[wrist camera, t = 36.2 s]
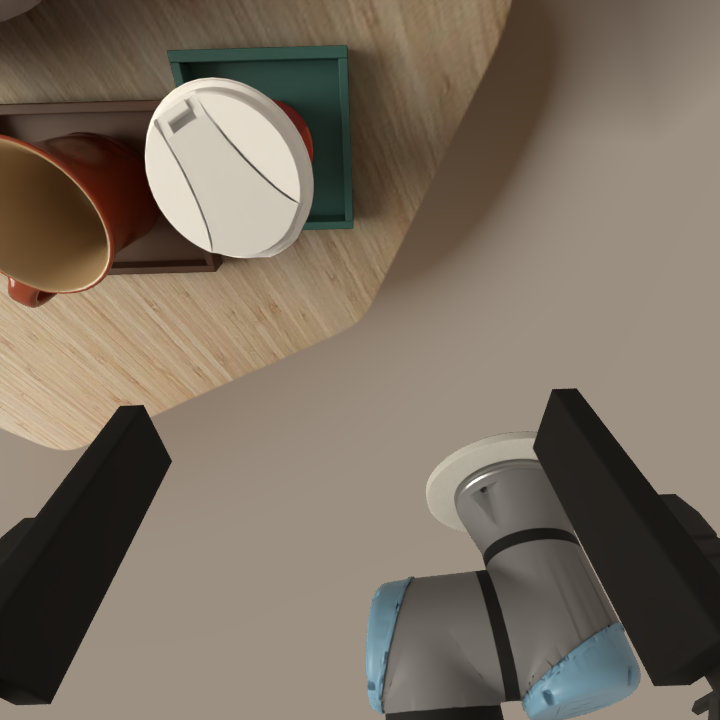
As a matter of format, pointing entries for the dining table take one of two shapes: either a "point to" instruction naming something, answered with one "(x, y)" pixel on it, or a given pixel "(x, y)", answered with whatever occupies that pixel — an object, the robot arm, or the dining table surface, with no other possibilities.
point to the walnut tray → (130, 125)
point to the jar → (15, 8)
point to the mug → (68, 211)
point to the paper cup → (230, 167)
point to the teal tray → (306, 96)
